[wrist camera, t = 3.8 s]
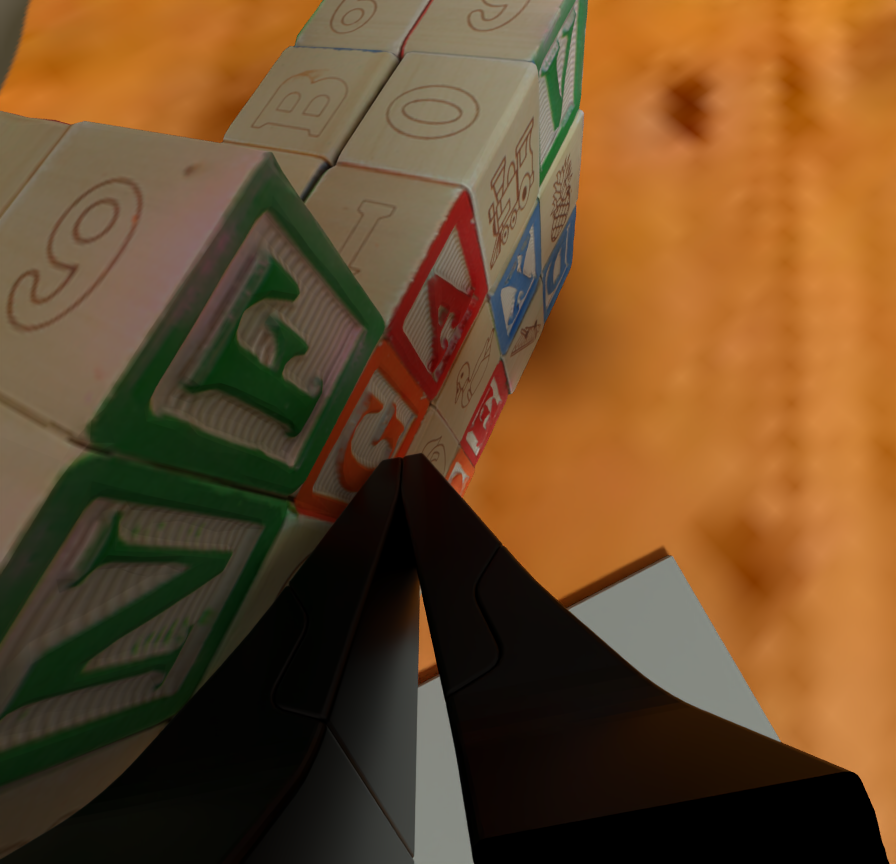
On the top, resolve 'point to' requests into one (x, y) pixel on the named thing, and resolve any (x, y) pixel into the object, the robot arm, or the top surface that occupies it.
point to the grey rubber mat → (635, 639)
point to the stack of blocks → (254, 349)
